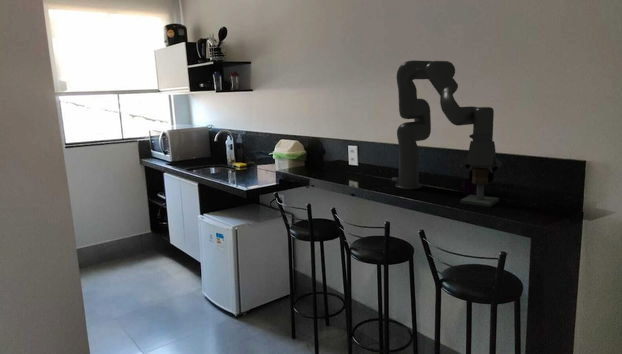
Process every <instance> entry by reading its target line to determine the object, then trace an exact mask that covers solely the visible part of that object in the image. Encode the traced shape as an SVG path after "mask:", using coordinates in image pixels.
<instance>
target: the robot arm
mask: <svg viewBox="0 0 622 354" xmlns="http://www.w3.org/2000/svg"><path fill="white" fill-rule="evenodd" d="M455 74H456V68H455V66H454V64H453V63H452V62H451V61H448V60H413V59H412V60H408V61H405V62H403V63H401V65H400V66H399V67H398V69H397V71H396V83H397V84H396V85H397V89H398V112H399V116H400V117H401V118H402V119H404V120H414V121H406V122H402V124H400V125H399V126H398V127H397V130H396V137H397V138H396V139H397V143H398V176H397V177H395V176H393V177H392V178H391V182H396V183H395V188H396V189H401V190H418V189H421V188H422V187H423V185H422V184H421V183H419V182H420V181H419V180H420V179H419V175H420V174H419V173H420V172H419V171H420V149H419V146H418V144H417V142H420V141H421V142H422V141H425V140H427V139H429V137H430V135H431V133H432V130H431V129H432V124H431V123H432V122H431V121H432V119H431V107H430V103H429V102H428V101H427V100H426V99H423V98H418V91H417V87H416V85H415V82H414V80H428V81H429V82H430V83H431V85H432V86H433V88H434V89H435V90H436V92H437V93H438V95H439V103H440V108H441V111H442V113H443V114H444V116H445V117H446V118H447V120H448V122H450V123H451V124H452V125H454V126H458V127H459V126H468V125H469V126H471V125H472V126H473V128H472V131H473V132H472V134H469V138H470V139H471V140H470V143H469V148H468V153H467V157H465V158H464V159H463V160H462V161H461V163H462V164H463V165H464V166H465V168H466V169H467V170H468V172H469V173H468V174H469V177H468V179H470V181H472V168H476V167H487V168H488V169H489V171H490V172H489V174H488V182H490V183H492V181H493V180H494V174H495V172H496V171H497V170H498V169H499V168H500V167H501V166H502V165H503V163H502V161H501V160H500V159H498V158H497V156H496V155H497V154H496V144H495V141H494V140H493V138H494V136H493V135H494V116H495V115H494V113H495V111H494V108H493V107H492V106H491V107H490V106H483V107H482V106H460V105H459V104H458V102H457V101H456V99H455V98H454V94H455V92H457V90H458V88H459V84H458V83H457V82H456V80H455V79H454V77H455ZM494 165H495V166H494Z"/></svg>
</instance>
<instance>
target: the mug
mask: <svg viewBox="0 0 622 354" xmlns="http://www.w3.org/2000/svg"><path fill="white" fill-rule="evenodd" d="M461 182H463V188H462V187H461ZM458 188H459V189H460V190H461V191H462V192H463V196H465V197H467V196H469V195H477V184H474V183H472V181H470V178H465V179H464V178H463V179H459V180H458Z"/></svg>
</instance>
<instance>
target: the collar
mask: <svg viewBox="0 0 622 354" xmlns="http://www.w3.org/2000/svg"><path fill="white" fill-rule="evenodd" d="M489 172H490V171H489V169H488V167H485V166H475V167H474V168H472V183H474V184H480V185H484V186H485V185H490V184H491V182H488V174H489Z"/></svg>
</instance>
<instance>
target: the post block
mask: <svg viewBox="0 0 622 354" xmlns="http://www.w3.org/2000/svg"><path fill="white" fill-rule="evenodd" d="M484 194H485V185H480V184H477V195H469V196H465V197H463V198H462V199H460V201H459V204H464V205H473V206H480V207H488V208H491V207H493V205H495V204H497V203H498V202H499V201H500V198H499V197H495V196H487V195H484Z"/></svg>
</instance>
